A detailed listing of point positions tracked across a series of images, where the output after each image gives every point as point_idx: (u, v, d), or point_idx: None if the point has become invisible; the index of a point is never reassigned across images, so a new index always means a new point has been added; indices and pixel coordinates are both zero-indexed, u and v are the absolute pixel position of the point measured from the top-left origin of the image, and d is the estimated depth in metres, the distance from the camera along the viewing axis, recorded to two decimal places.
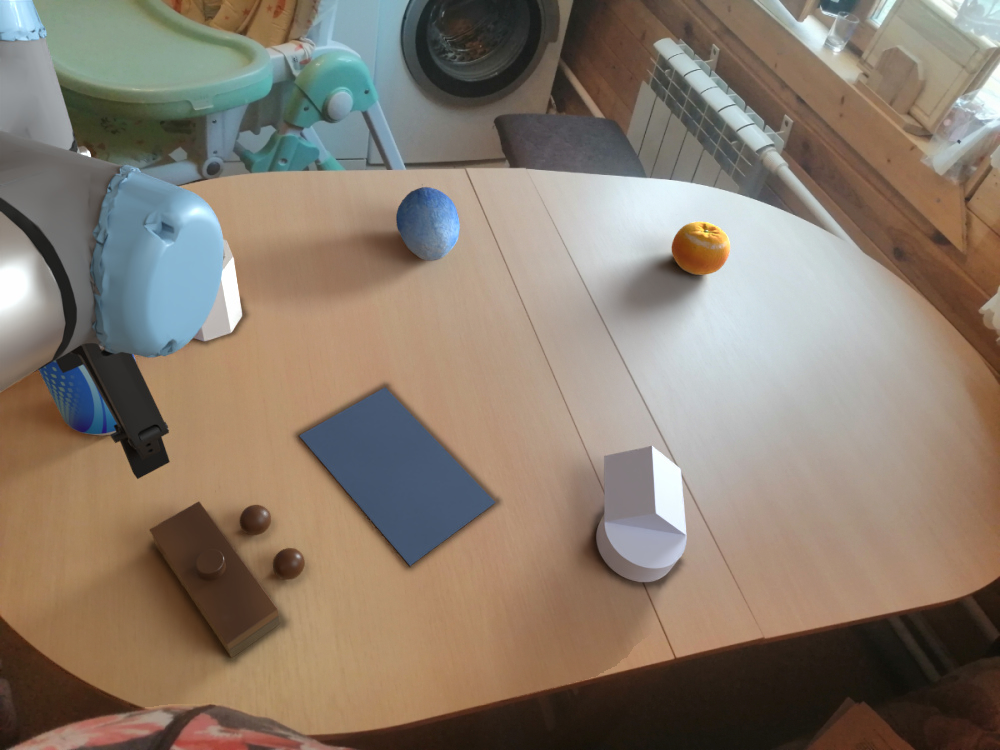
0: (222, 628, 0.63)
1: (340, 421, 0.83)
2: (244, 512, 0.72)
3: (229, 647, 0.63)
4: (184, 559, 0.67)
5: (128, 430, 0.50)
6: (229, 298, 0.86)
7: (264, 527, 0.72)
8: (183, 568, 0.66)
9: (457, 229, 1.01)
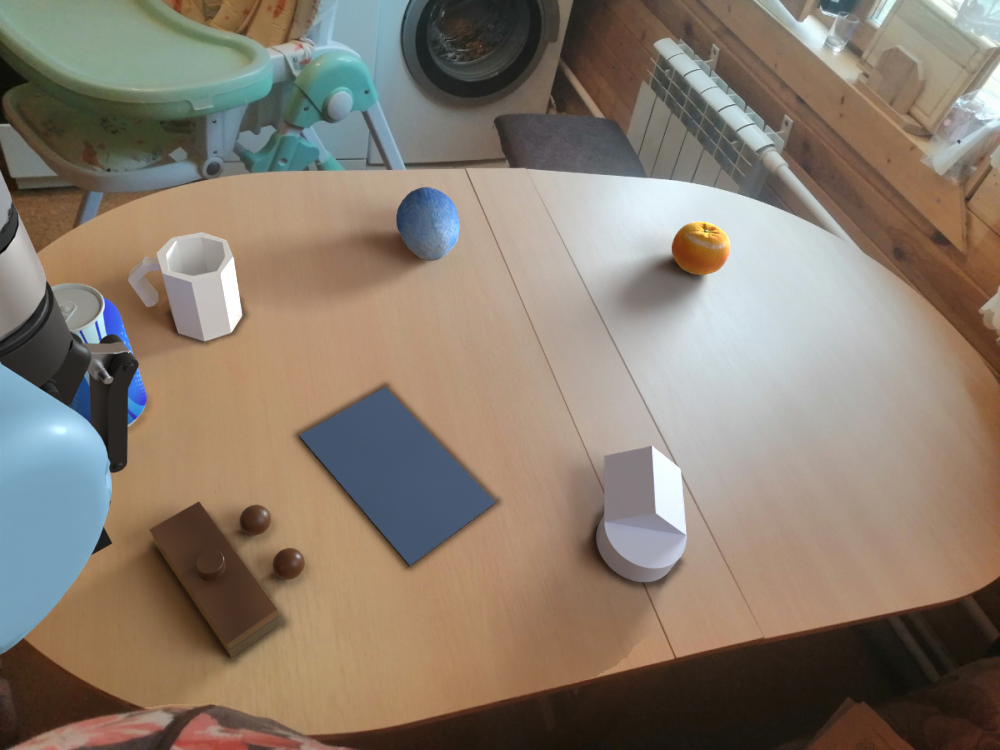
0: (222, 628, 0.63)
1: (340, 421, 0.83)
2: (244, 512, 0.72)
3: (229, 647, 0.63)
4: (184, 559, 0.67)
5: (126, 449, 0.47)
6: (229, 298, 0.86)
7: (264, 527, 0.72)
8: (183, 568, 0.66)
9: (457, 229, 1.01)
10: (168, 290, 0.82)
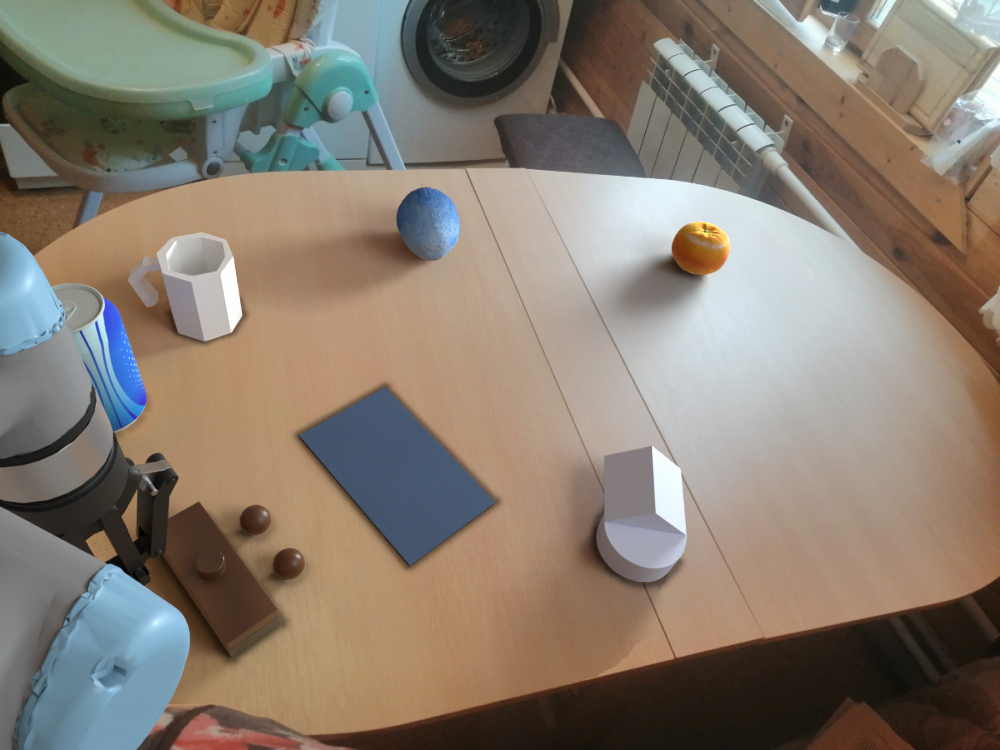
0: (222, 628, 0.63)
1: (340, 421, 0.83)
2: (244, 512, 0.72)
3: (229, 647, 0.63)
4: (184, 559, 0.67)
5: (165, 540, 0.57)
6: (229, 298, 0.86)
7: (264, 527, 0.72)
8: (183, 568, 0.66)
9: (457, 229, 1.01)
10: (168, 290, 0.82)
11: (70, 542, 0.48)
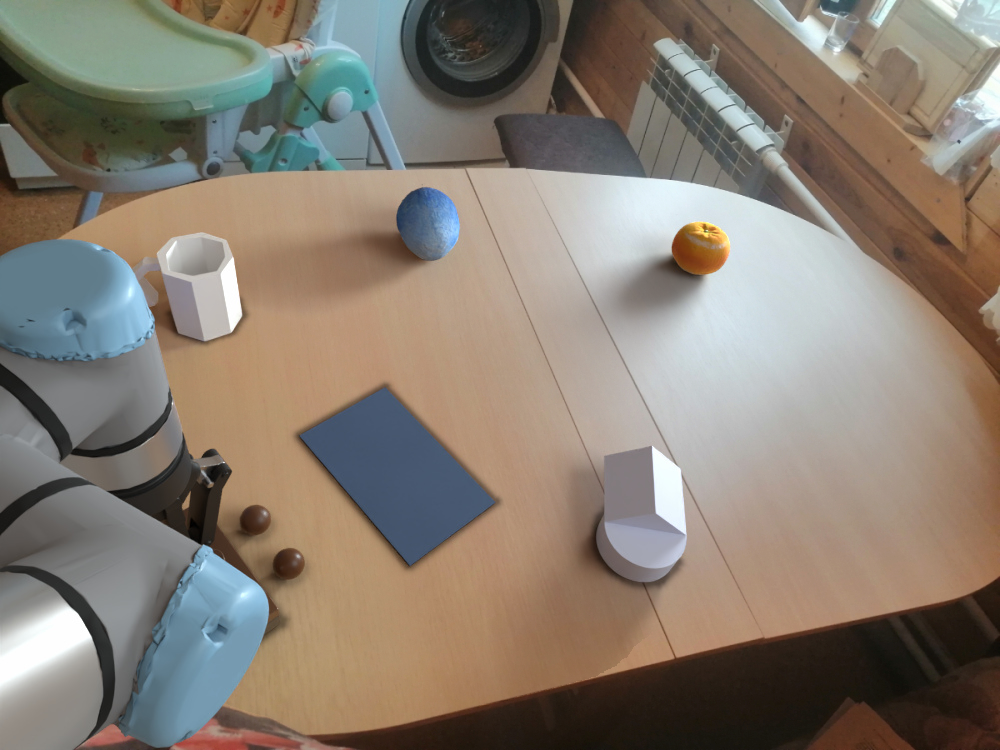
0: None
1: (340, 421, 0.83)
2: (244, 512, 0.72)
3: None
4: None
5: (215, 531, 0.61)
6: (229, 298, 0.86)
7: (264, 527, 0.72)
8: None
9: (457, 229, 1.01)
10: (168, 290, 0.82)
11: None
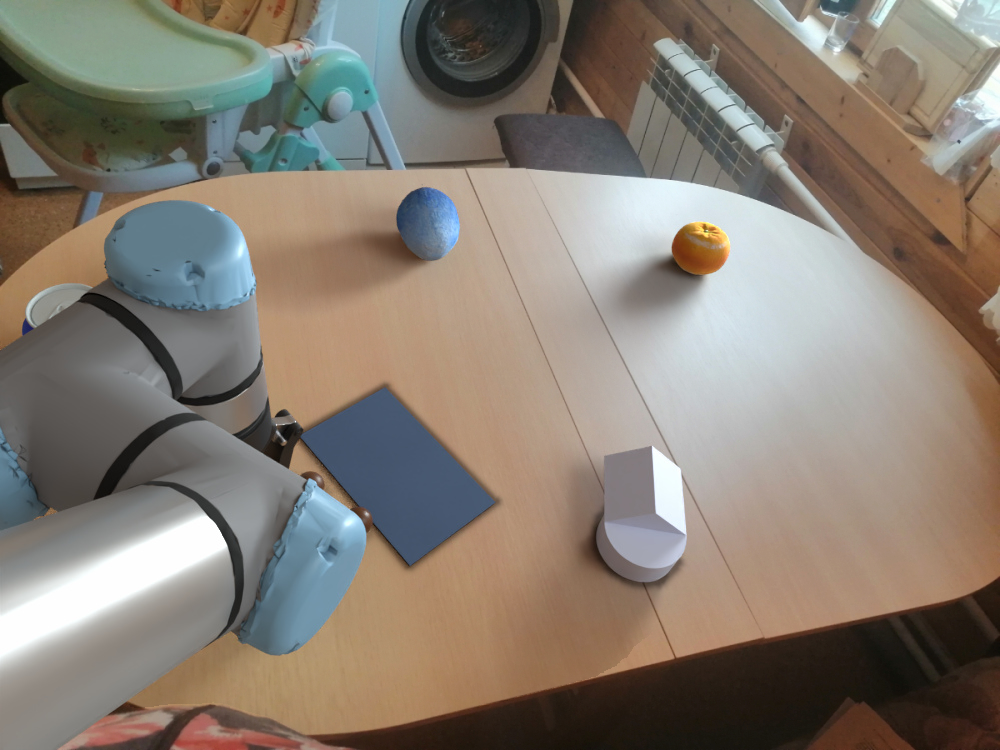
0: None
1: (340, 421, 0.83)
2: None
3: None
4: None
5: None
6: None
7: None
8: None
9: (457, 229, 1.01)
10: None
11: None
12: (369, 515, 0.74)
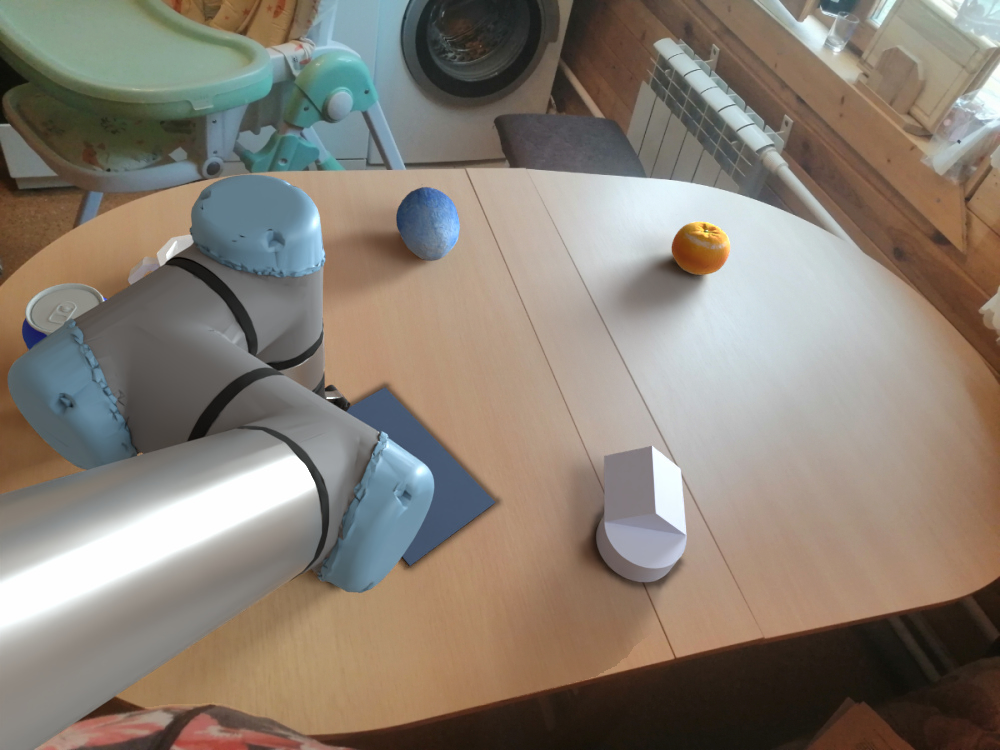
0: None
1: None
2: None
3: None
4: None
5: None
6: None
7: None
8: None
9: (457, 229, 1.01)
10: None
11: None
12: None
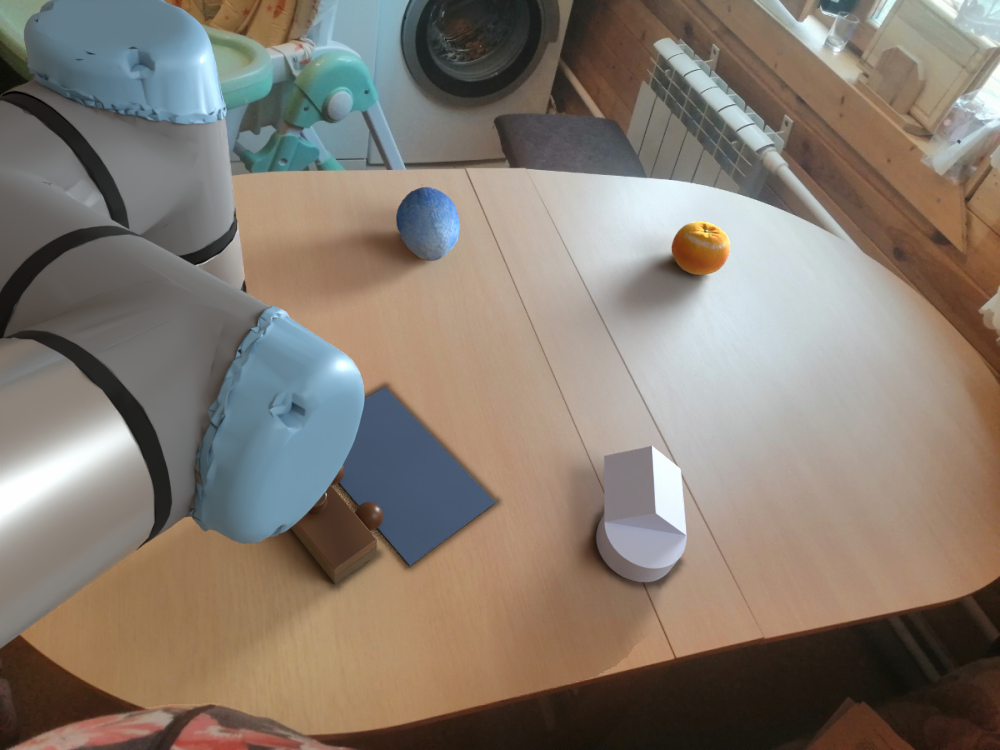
0: (329, 555, 0.69)
1: None
2: None
3: (335, 573, 0.69)
4: None
5: None
6: None
7: (337, 478, 0.76)
8: None
9: (457, 229, 1.01)
10: None
11: None
12: (382, 513, 0.75)
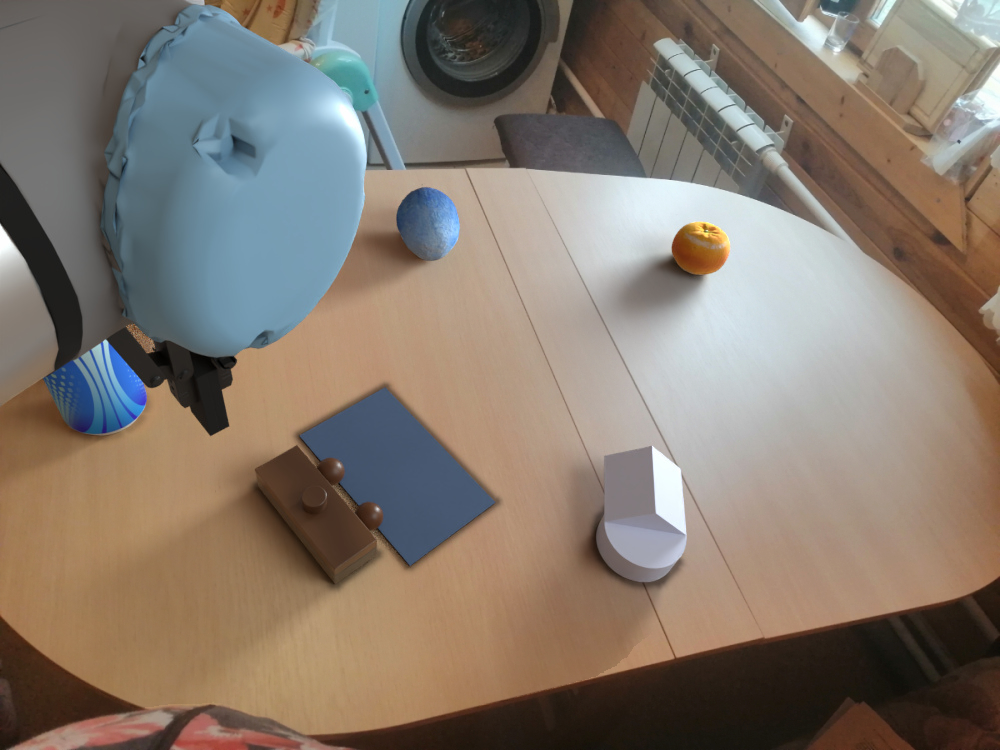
0: (329, 555, 0.69)
1: (340, 421, 0.83)
2: (317, 467, 0.77)
3: (335, 573, 0.69)
4: (289, 495, 0.72)
5: None
6: None
7: (337, 478, 0.76)
8: (288, 503, 0.72)
9: (457, 229, 1.01)
10: None
11: None
12: (382, 513, 0.75)
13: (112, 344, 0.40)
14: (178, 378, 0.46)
